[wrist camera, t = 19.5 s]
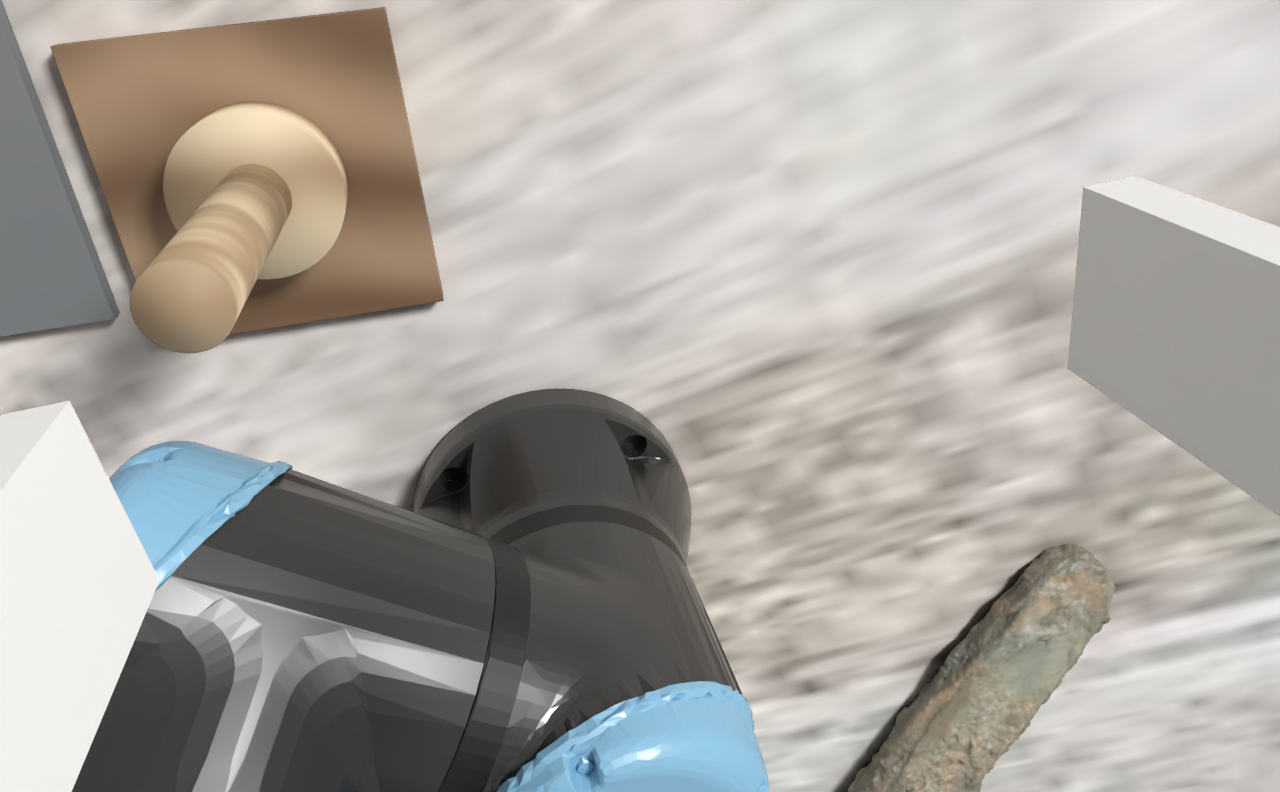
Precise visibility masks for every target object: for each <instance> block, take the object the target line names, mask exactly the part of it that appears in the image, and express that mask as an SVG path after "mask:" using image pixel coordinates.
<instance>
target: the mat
mask: <svg viewBox="0 0 1280 792" xmlns="http://www.w3.org/2000/svg"><path fill="white" fill-rule="evenodd" d="M119 313H120V312H119V310H118V307H117V305H116V302H115V299H114V297H113V294H112V291H111V289H110V286H109V283H108V281H107V278H106V275H105V273H104V270H103V268H102V265H101V262H100V260H99V257H98V254H97V252H96V249H95V246H94V244H93V241H92V239H91V236H90V233H89V231H88V228H87V225H86V223H85V220H84V217H83V215H82V212H81V209H80V207H79V204H78V202H77V199H76V196H75V194H74V191H73V188H72V186H71V183H70V180H69V178H68V175H67V173H66V170H65V167H64V165H63V162H62V159H61V157H60V154H59V151H58V149H57V146H56V143H55V141H54V138H53V136H52V133H51V130H50V128H49V125H48V122H47V120H46V117H45V114H44V112H43V109H42V107H41V104H40V101H39V99H38V96H37V93H36V91H35V88H34V85H33V83H32V80H31V77H30V75H29V72H28V70H27V67H26V64H25V62H24V59H23V56H22V54H21V51H20V48H19V46H18V43H17V41H16V38H15V35H14V33H13V30H12V27H11V25H10V22H9V19H8V17H7V14H6V11H5V9H4V6H3V4H2V1H1V0H0V337H2V336H8V335H15V334H21V333H28V332H34V331H41V330H47V329H54V328H61V327H67V326H74V325H80V324H87V323H93V322H100V321H106V320H113V319H115V318H116V317H117V316H118V314H119Z"/></svg>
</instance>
